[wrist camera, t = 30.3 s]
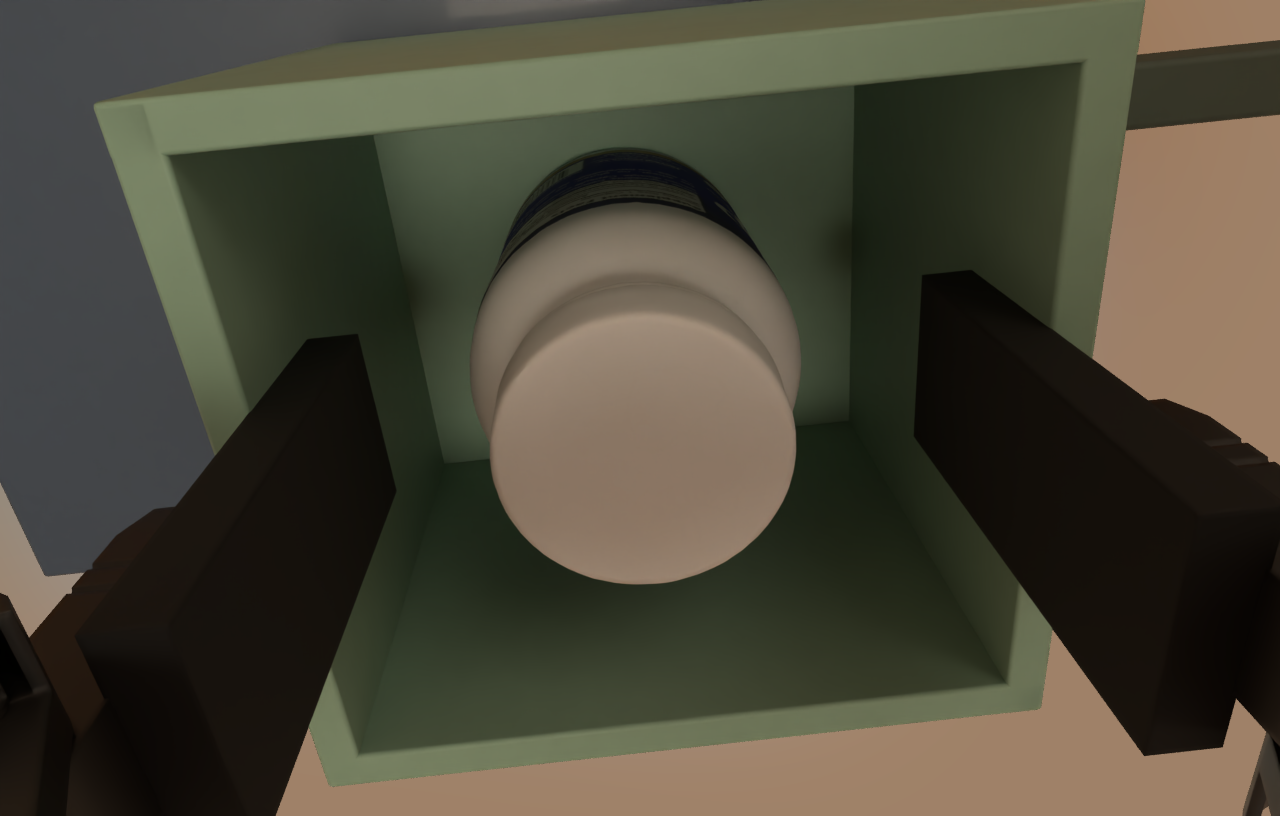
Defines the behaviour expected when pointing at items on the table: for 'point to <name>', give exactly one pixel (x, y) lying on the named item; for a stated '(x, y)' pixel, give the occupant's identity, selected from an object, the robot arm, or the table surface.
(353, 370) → the robot arm
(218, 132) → the basket
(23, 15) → the gray rectangular block
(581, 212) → the pill bottle
